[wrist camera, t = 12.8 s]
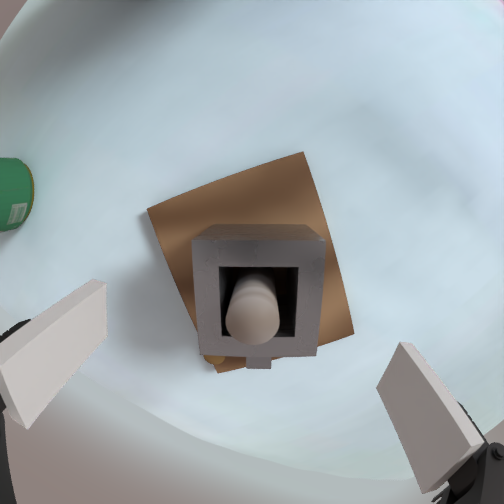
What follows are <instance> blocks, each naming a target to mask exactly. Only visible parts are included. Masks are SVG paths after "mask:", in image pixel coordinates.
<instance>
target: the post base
mask: <svg viewBox="0 0 504 504" xmlns="http://www.w3.org/2000/svg"><path fill="white" fill-rule="evenodd" d="M147 211H148V214H149V216H150V219H151V222H152V225H153V227H154V230H155V233H156V236H157V238H158V241H159V243H160V246H161V249H162V251H163V254H164V256H165V259H166V261H167V264H168V266H169V269H170V271H171V273H172V276H173V278H174V281H175V283H176V285H177V288H178V290H179V292H180V295H181V297H182V299H183V302H184V304H185V306H186V308H187V311H188V313H189V315H190V317H191V319H192V321H193V324H194V326H195V328H196V330H197V332H198V329H197V318H196V306H195V293H194V278H193V261H192V241H191V240H192V239H194V238H195V237H197V236H198V235H199V234H201V233H202V232H203V231H205V230H206V229H208V228H209V227H210V226H212V225H213V224H306V225H307V226H309V227H310V228H311V229H312V230H314V231H315V232H316V233H317V234H318V235H320V236H321V237H322V238H323V239H324V240H326V253H325V269H324V283H323V296H322V307H321V317H320V327H319V336H318V345H317V347H318V346H321V345H324V344H327V343H330V342H333V341H336V340H339V339H342V338H345V337H347V336H350V335H353V334H354V329H353V324H352V320H351V315H350V311H349V306H348V302H347V298H346V293H345V289H344V285H343V281H342V277H341V273H340V269H339V265H338V262H337V258H336V254H335V250H334V247H333V243H332V240H331V236H330V233H329V229H328V226H327V222H326V219H325V216H324V212H323V209H322V206H321V203H320V200H319V196H318V193H317V190H316V187H315V184H314V181H313V178H312V175H311V172H310V169H309V166H308V163H307V161H306V158H305V155H304V152H300V153H296V154H293V155H290V156H287V157H284V158H280V159H277V160H274V161H271V162H268V163H265V164H262V165H259V166H256V167H253V168H250V169H247V170H244V171H241V172H239V173H236V174H233V175H230V176H227V177H225V178H222V179H219V180H217V181H214V182H211V183H209V184H206V185H203V186H201V187H198V188H196V189H193V190H191V191H188V192H186V193H183V194H181V195H178V196H176V197H173V198H171V199H169V200H166V201H164V202H161V203H159V204H157V205H154V206H152V207H150V208H148V209H147ZM286 275H287V267H233V294H232V298H231V301H230V305H229V308H228V312H227V315H226V327H227V330H228V331H229V333H230V335H231V336H232V337H233V338H234V339H236V340H237V341H239V342H241V343H244V344H247V345H259V344H262V343H265V342H267V341H269V340H270V339H271V338H273V336H274V335H275V334H276V333H277V331H278V328H279V312H278V304H277V296H276V294H286ZM203 356H204V358H205V360H206V361H207V362H209V363H210V364H213V365H214V367H215V369H216V371H217V373H222V372H227V371H231V370H235V369H240V368H244V367H246V357H236V356H213V355H203ZM279 358H282V357H271V360H275V359H279Z"/></svg>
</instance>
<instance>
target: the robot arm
mask: <svg viewBox="0 0 504 504" xmlns="http://www.w3.org/2000/svg"><path fill="white" fill-rule="evenodd" d="M107 337H108V332H107V283H104V282H101V281H97V280H94V279H92V280H90V281H89V282H87V283H86V284H84V285H82V286H81V287H79V288H78V289H76V290H75V291H73V292H72V293H70V294H69V295H67V296H66V297H64V298H63V299H61V300H60V301H58V302H57V303H55V304H54V305H52V306H51V307H49V308H48V309H47V310H45V311H44V312H42V313H41V314H39V315H38V316H37V317H35V318H34V319H32V320H31V319H28V320H25V321H22V322H19V323H17V324H16V325H14V326H13V327H11V328H10V329H9V331H8V330H7V331H6V332H4V333H3V335H2V336H0V504H17V503H16V499H15V495H14V491H13V486H12V481H11V475H10V469H9V463H8V456H7V448H6V437H5V421H4V416H3V413H2V412H3V410H4V409H5V408H7V410H8V412H9V414H10V416H11V417H12V419H13V420H15V421H16V422H17V423H19V424H20V425H21V426H23V427H24V428H25V429H27V430H28V429H29V427H30V426H31V425H32V423H33V422H34V421H35V420H36V418H37V417H38V416H39V415H40V414H41V412H42V411H43V410H44V409H45V407H46V406H47V405H48V404H49V403H50V401H51V400H52V399H53V398H54V397H55V395H56V394H57V393H58V392H59V391H60V390H61V388H62V387H63V386H64V385H65V384H66V383H67V381H68V380H69V379H70V378H71V377H72V376H73V374H74V373H75V372H76V371H77V370H78V369H79V368H80V367H81V365H82V364H83V363H84V362H85V361H86V360H87V359H88V358H89V356H90V355H91V354H92V353H93V352H94V351H95V350H96V349H97V348H98V346H99V345H100V344H101V343H102V342H103V341H104V340H105V339H106V338H107ZM376 389H377V391H378V393H379V395H380V397H381V399H382V401H383V403H384V406H385V408H386V410H387V412H388V414H389V416H390V419H391V421H392V423H393V425H394V428H395V430H396V432H397V434H398V437H399V439H400V441H401V443H402V446H403V448H404V450H405V453H406V455H407V457H408V460H409V462H410V465H411V467H412V470H413V472H414V474H415V477H416V479H417V482H418V484H419V487H420V489H421V492H422V494H424V493H427V492H430V491H434V490H437V489H438V488H439V487H440V486H441V485H443V484H444V483H445V482H446V481H447V480H448V482H449V486H448V487H447V488H445V489H444V490H443V491H442V492H440V493H439V494H438V495H437V496H436V497H434V498H433V500H432V502H435V501H436V500H437V499H439V498H440V497H442V498H441V500H439V501H438V502H437V504H504V446H503V445H501V444H500V443H495V442H494V443H491V444H490V445H489V444H488V443H487V441H486V439H485V438H484V436H483V435H482V433H481V432H480V430H479V429H478V427H477V426H476V424H475V423H474V421H472V419H471V417H470V416H469V415H467V414H468V413H467V411H466V410H465V409H464V407H463V406H462V405H461V404H460V403H459V402H458V401H456V400H455V398H454V397H453V395H452V394H451V393H450V391H449V390H448V389H447V387H446V386H445V385H444V383H443V382H442V381H441V379H440V378H439V377H438V375H437V374H436V373H435V372H434V370H433V369H432V368H431V366H430V365H429V364H428V362H427V361H426V360H425V359H424V357H423V356H422V355H421V354H420V352H419V351H418V350H417V349H416V347H415V346H414V345H413V344H412V343H405V342H399V344H398V346H397V348H396V351H395V353H394V355H393V357H392V359H391V361H390V363H389V365H388V367H387V369H386V370H385V372H384V374H383V376H382V378H381V380H380V382H379V384H378V385H377V387H376Z"/></svg>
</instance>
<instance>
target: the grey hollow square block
mask: <svg viewBox="0 0 504 504" xmlns="http://www.w3.org/2000/svg"><path fill="white" fill-rule="evenodd" d="M191 241H192V261H193V278H194V293H195V306H196V318H197V329H198V339H199V349H200V355H213V356H236V357H246V368H247V369H271V357H306V356H316V353H317V345H318V336H319V327H320V317H321V307H322V296H323V283H324V269H325V253H326V240H324V239H323V238H322V237H321V236H320V235H318V234H317V233H316V232H315V231H314V230H312V229H311V228H310V227H309V226H307V225H306V224H213V225H212V226H210V227H209V228H208V229H206V230H205V231H203V232H202V233H201V234H199V235H198V236H197V237H195V238H194V239H192V240H191ZM233 267H287V275H286V294H276V296H277V304H278V312H279V328H278V331H277V333H276V334H275V335H274V336H273V338H271V339H270V340H269V341H267V342H265V343H262V344H259V345H247V344H244V343H241V342H239V341H237V340H236V339H234V338H233V337H232V336H231V335H230V333H229V331H228V330H227V327H226V315H227V312H228V308H229V305H230V301H231V298H232V294H233Z"/></svg>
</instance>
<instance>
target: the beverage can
mask: <svg viewBox="0 0 504 504" xmlns="http://www.w3.org/2000/svg"><path fill="white" fill-rule="evenodd" d="M33 200H34V182H33V177H32V174H31V171H30V169H29V168H28V166H27V165H26V164H24V163H23V162H22V161H21V160H19V159H17V158H0V232H4V231H8V230H12V229H15V228H17V227H19V226H20V225H21V224H22V222H23V221H25V220H26V218H27V217H28V215H29V213H30V211H31V208H32V205H33Z"/></svg>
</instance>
